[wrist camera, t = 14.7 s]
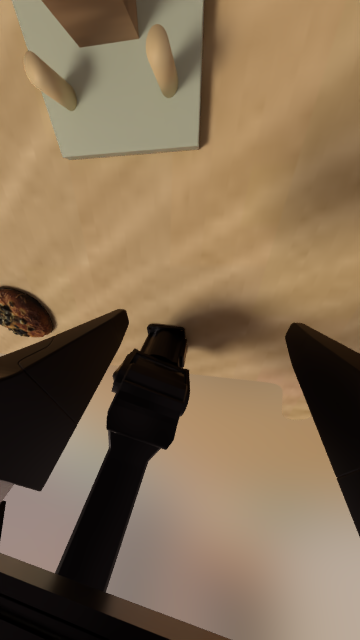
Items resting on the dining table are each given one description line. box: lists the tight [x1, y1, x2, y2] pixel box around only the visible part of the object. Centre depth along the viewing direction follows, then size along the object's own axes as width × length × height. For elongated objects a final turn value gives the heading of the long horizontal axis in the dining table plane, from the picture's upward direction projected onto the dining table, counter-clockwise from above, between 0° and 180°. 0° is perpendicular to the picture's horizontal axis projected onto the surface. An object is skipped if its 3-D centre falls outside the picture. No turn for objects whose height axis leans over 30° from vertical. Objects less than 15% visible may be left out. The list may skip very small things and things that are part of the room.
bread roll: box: [0, 288, 52, 337], centre depth 29 cm, size 11×11×5 cm
